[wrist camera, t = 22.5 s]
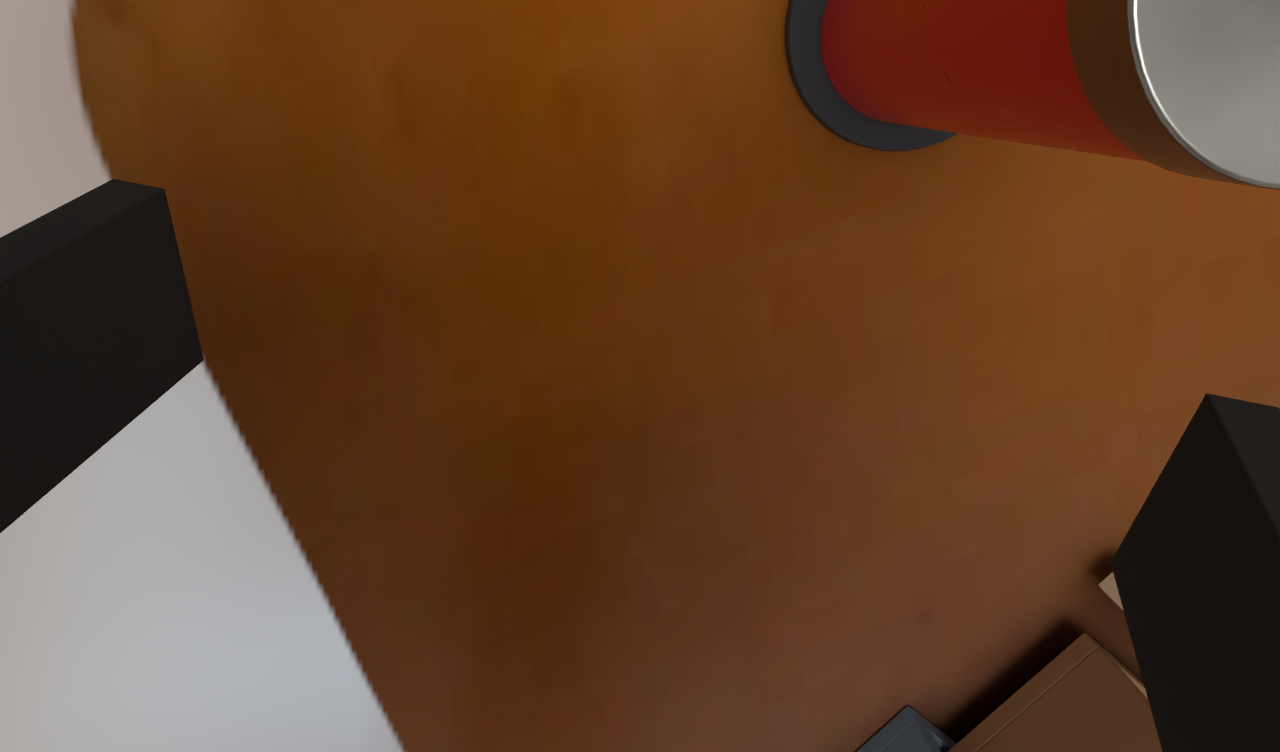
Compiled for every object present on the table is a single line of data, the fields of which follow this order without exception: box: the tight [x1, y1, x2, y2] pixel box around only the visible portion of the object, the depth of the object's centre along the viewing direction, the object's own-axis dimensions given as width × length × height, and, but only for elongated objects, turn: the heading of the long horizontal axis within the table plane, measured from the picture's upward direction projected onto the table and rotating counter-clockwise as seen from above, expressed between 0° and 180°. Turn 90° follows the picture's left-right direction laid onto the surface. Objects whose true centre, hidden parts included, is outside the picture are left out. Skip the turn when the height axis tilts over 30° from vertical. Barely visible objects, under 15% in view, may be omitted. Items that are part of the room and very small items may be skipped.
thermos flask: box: [820, 0, 1280, 190], centre depth 16 cm, size 5×5×14 cm
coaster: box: [785, 0, 956, 151], centre depth 23 cm, size 6×6×1 cm
